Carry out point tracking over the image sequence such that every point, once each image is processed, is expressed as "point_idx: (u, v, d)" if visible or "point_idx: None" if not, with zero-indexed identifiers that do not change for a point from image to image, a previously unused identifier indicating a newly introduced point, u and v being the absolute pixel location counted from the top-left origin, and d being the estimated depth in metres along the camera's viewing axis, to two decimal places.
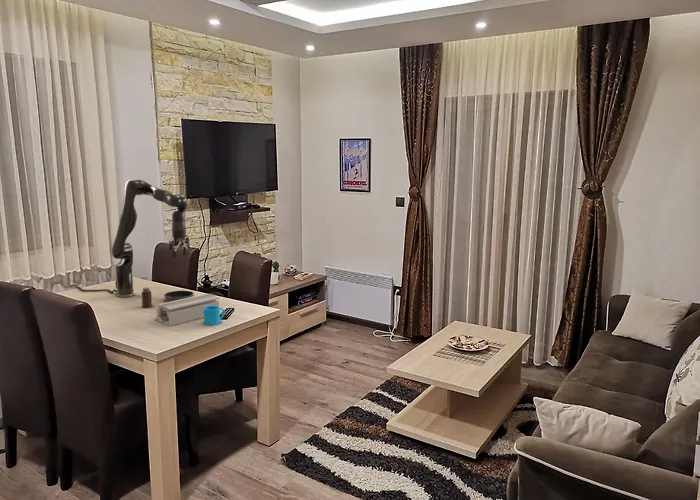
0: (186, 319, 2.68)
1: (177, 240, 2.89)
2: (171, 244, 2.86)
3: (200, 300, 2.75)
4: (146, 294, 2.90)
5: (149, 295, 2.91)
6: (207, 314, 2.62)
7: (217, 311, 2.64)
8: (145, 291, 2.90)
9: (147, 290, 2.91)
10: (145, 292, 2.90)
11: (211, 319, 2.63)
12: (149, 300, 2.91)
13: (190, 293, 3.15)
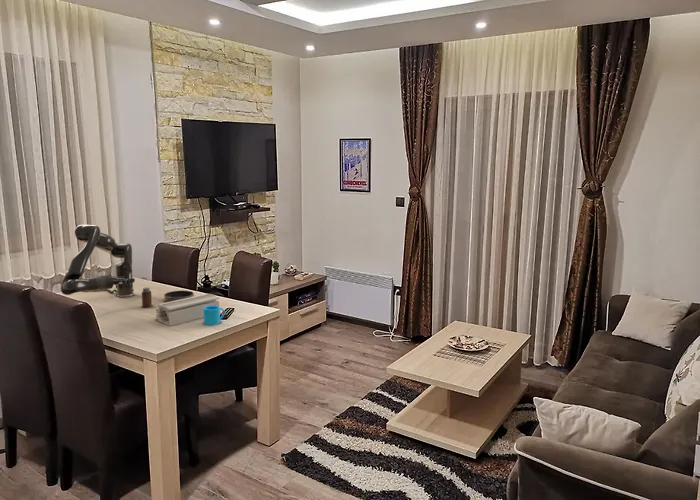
0: (186, 319, 2.68)
1: None
2: None
3: (200, 300, 2.75)
4: (146, 294, 2.90)
5: (149, 295, 2.91)
6: (207, 314, 2.62)
7: (217, 311, 2.64)
8: (145, 291, 2.90)
9: (147, 290, 2.91)
10: (145, 292, 2.90)
11: (211, 319, 2.63)
12: (149, 300, 2.91)
13: (190, 293, 3.15)
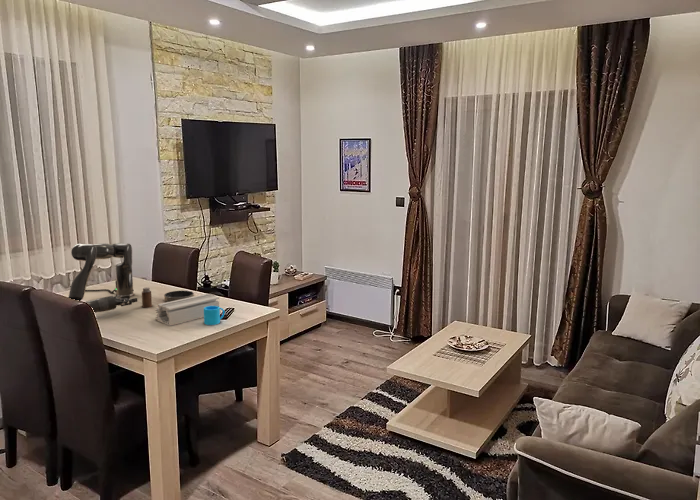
0: (186, 319, 2.68)
1: None
2: None
3: (200, 300, 2.75)
4: (146, 294, 2.90)
5: (149, 295, 2.91)
6: (207, 314, 2.62)
7: (217, 311, 2.64)
8: (145, 291, 2.90)
9: (147, 290, 2.91)
10: (145, 292, 2.90)
11: (211, 319, 2.63)
12: (149, 300, 2.91)
13: (190, 293, 3.15)
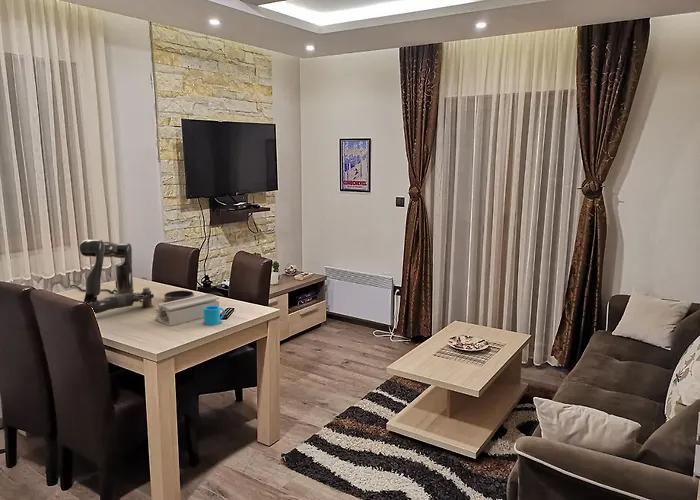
0: (186, 319, 2.68)
1: None
2: None
3: (200, 300, 2.75)
4: (146, 294, 2.90)
5: None
6: (207, 314, 2.62)
7: (217, 311, 2.64)
8: (145, 291, 2.90)
9: (147, 290, 2.91)
10: (145, 292, 2.90)
11: (211, 319, 2.63)
12: (149, 300, 2.91)
13: (190, 293, 3.15)
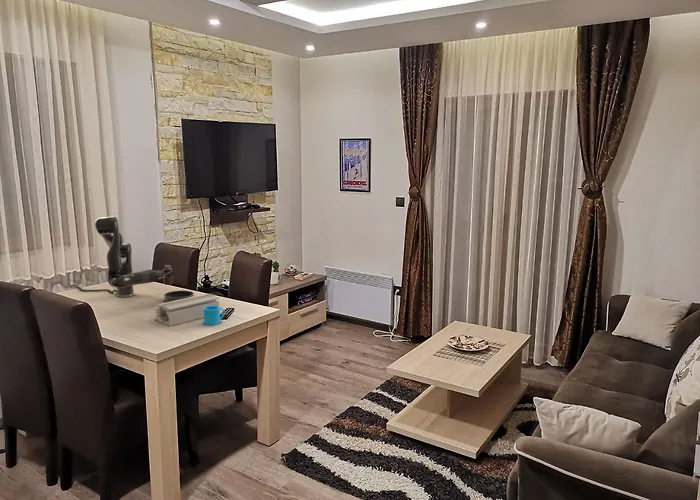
0: (186, 319, 2.68)
1: None
2: None
3: (200, 300, 2.75)
4: (168, 271, 2.98)
5: None
6: (207, 314, 2.62)
7: (217, 311, 2.64)
8: (167, 268, 2.99)
9: (169, 267, 2.99)
10: (167, 269, 2.99)
11: (211, 319, 2.63)
12: (170, 277, 3.00)
13: (190, 293, 3.15)
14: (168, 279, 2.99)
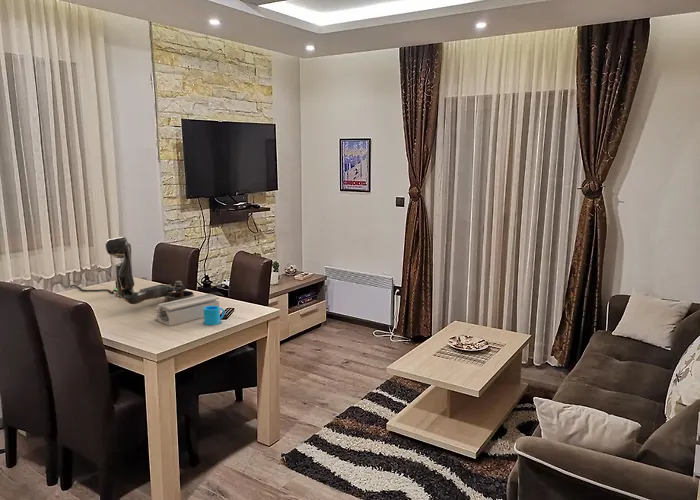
0: (186, 319, 2.68)
1: None
2: None
3: (200, 300, 2.75)
4: None
5: None
6: (207, 314, 2.62)
7: (217, 311, 2.64)
8: (177, 284, 3.06)
9: (179, 283, 3.06)
10: (177, 285, 3.05)
11: (211, 319, 2.63)
12: (181, 293, 3.07)
13: (190, 293, 3.15)
14: (179, 294, 3.06)
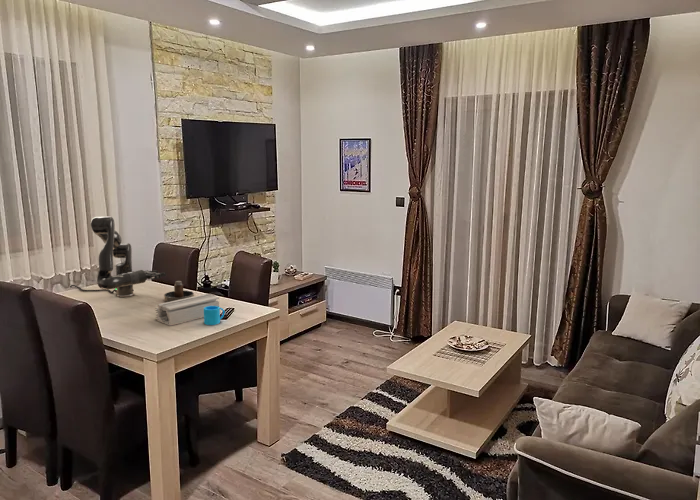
0: (186, 319, 2.68)
1: None
2: None
3: (200, 300, 2.75)
4: (178, 287, 3.05)
5: (181, 288, 3.07)
6: (207, 314, 2.62)
7: (217, 311, 2.64)
8: (177, 284, 3.06)
9: (179, 283, 3.06)
10: (177, 285, 3.05)
11: (211, 319, 2.63)
12: (181, 293, 3.07)
13: (190, 293, 3.15)
14: (179, 294, 3.06)
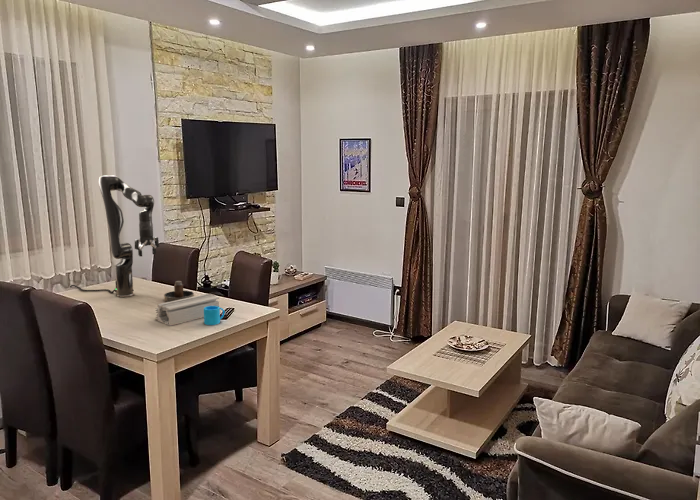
0: (186, 319, 2.68)
1: (143, 239, 2.96)
2: (136, 243, 2.94)
3: (200, 300, 2.75)
4: (178, 287, 3.05)
5: (181, 288, 3.07)
6: (207, 314, 2.62)
7: (217, 311, 2.64)
8: (177, 284, 3.06)
9: (179, 283, 3.06)
10: (177, 285, 3.05)
11: (211, 319, 2.63)
12: (181, 293, 3.07)
13: (190, 293, 3.15)
14: (179, 294, 3.06)
